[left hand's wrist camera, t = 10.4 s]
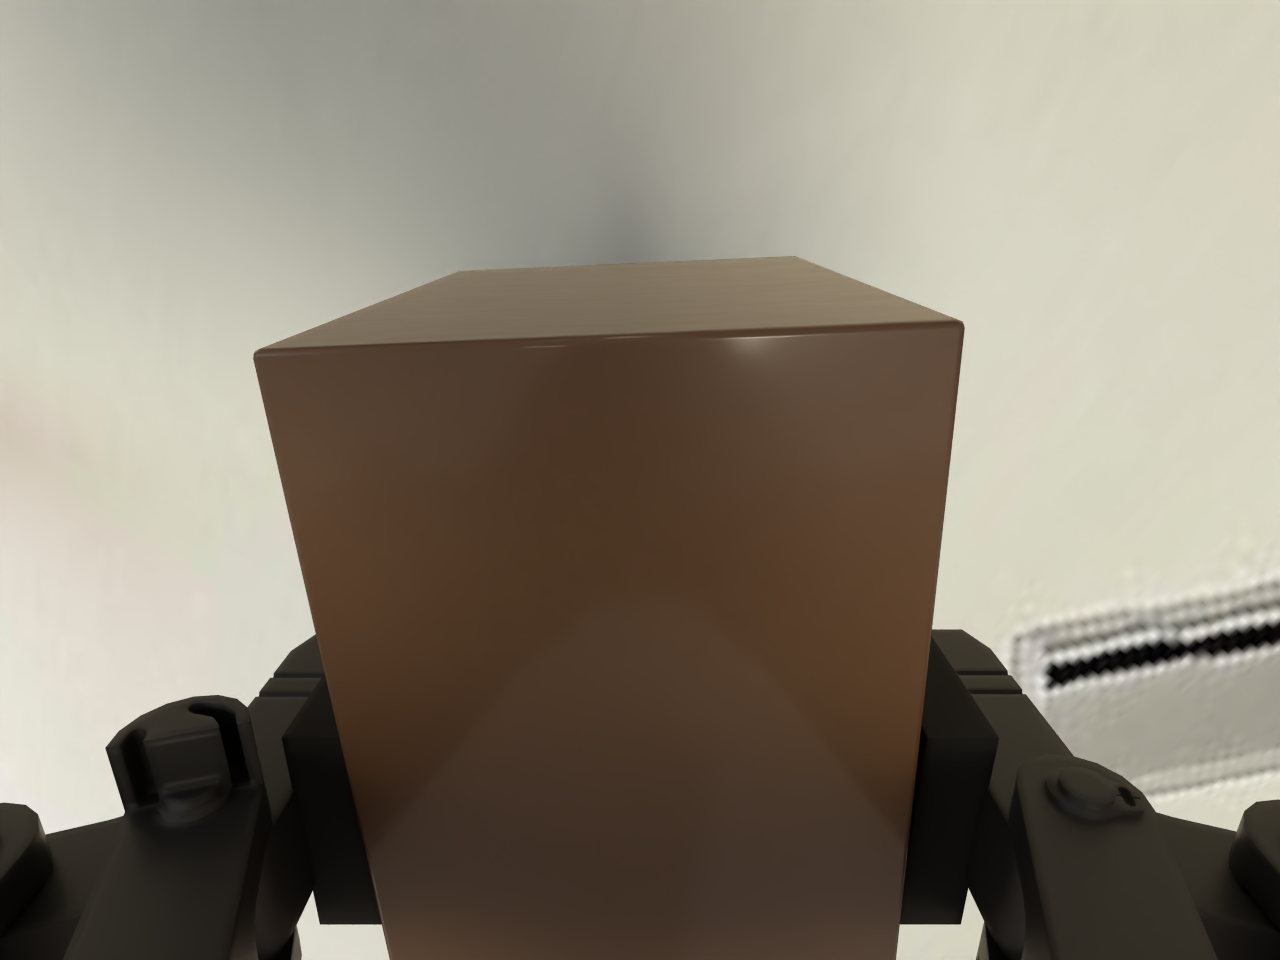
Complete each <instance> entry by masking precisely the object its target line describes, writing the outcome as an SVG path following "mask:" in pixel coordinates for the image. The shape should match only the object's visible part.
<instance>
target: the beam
mask: <svg viewBox="0 0 1280 960" xmlns="http://www.w3.org/2000/svg"><path fill="white" fill-rule="evenodd" d="M964 329H965V328H964V324H963V322H962V321H960V320H957V319H955V318H952V317H949V316H947V315H944V314H942V313H939V312H937V311H934V310H931V309H929V308H926V307H924V306H921V305H919V304H916V303H913V302H911V301H908V300H906V299H903V298H901V297H898V296H896V295H893V294H890V293H888V292H885V291H883V290H880V289H878V288H875V287H872V286H870V285H867V284H865V283H862V282H860V281H857V280H854V279H852V278H849V277H847V276H844V275H842V274H839V273H836V272H834V271H831V270H829V269H826V268H824V267H821V266H819V265H816V264H813V263H811V262H808V261H806V260H803V259H801V258H798V257H795V256H789V257H767V258H744V259H722V260H699V261H676V262H654V263H631V264H609V265H586V266H563V267H541V268H518V269H496V270H473V271H459V272H456V273H454V274H451V275H449V276H446V277H443V278H441V279H438V280H436V281H433V282H431V283H428V284H425V285H423V286H420V287H418V288H415V289H413V290H410V291H407V292H405V293H402V294H400V295H397V296H395V297H392V298H389V299H387V300H384V301H382V302H379V303H377V304H374V305H371V306H369V307H366V308H364V309H361V310H359V311H356V312H353V313H351V314H348V315H346V316H343V317H341V318H338V319H335V320H333V321H330V322H328V323H325V324H323V325H320V326H317V327H315V328H312V329H310V330H307V331H305V332H302V333H299V334H297V335H294V336H292V337H289V338H287V339H284V340H281V341H279V342H276V343H274V344H271V345H269V346H266V347H263V348H261V349H259V350H257V351H255V353H254V358H253V359H254V363H255V368H256V372H257V377H258V381H259V385H260V390H261V394H262V399H263V403H264V407H265V412H266V416H267V421H268V425H269V429H270V434H271V438H272V443H273V447H274V451H275V456H276V460H277V465H278V469H279V474H280V478H281V482H282V487H283V491H284V496H285V500H286V504H287V509H288V513H289V518H290V522H291V526H292V531H293V535H294V540H295V544H296V548H297V553H298V557H299V562H300V566H301V570H302V575H303V579H304V584H305V588H306V592H307V597H308V601H309V606H310V610H311V614H312V619H313V623H314V628H315V632H316V636H317V641H318V645H319V650H320V654H321V658H322V663H323V667H324V672H325V676H326V680H327V685H328V689H329V694H330V698H331V702H332V707H333V711H334V716H335V720H336V724H337V729H338V733H339V738H340V742H341V746H342V751H343V755H344V760H345V764H346V768H347V773H348V777H349V782H350V786H351V790H352V795H353V799H354V804H355V808H356V812H357V817H358V821H359V826H360V830H361V834H362V839H363V843H364V848H365V852H366V856H367V861H368V865H369V870H370V874H371V878H372V883H373V887H374V892H375V896H376V900H377V905H378V909H379V914H380V918H381V922H382V927H383V931H384V936H385V940H386V944H387V949H388V953H389V958H390V960H896V953H897V943H898V934H899V925H900V916H901V907H902V898H903V888H904V879H905V870H906V861H907V852H908V843H909V833H910V824H911V815H912V806H913V797H914V787H915V778H916V769H917V760H918V751H919V742H920V732H921V723H922V714H923V705H924V696H925V687H926V677H927V668H928V659H929V650H930V641H931V632H932V622H933V613H934V604H935V595H936V586H937V576H938V567H939V558H940V549H941V540H942V531H943V521H944V512H945V503H946V494H947V485H948V476H949V466H950V457H951V448H952V439H953V430H954V421H955V411H956V402H957V393H958V384H959V375H960V365H961V356H962V347H963V338H964Z"/></svg>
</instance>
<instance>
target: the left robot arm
mask: <svg viewBox="0 0 1280 960" xmlns="http://www.w3.org/2000/svg"><path fill="white" fill-rule="evenodd" d="M106 751H107V755H108V758H109V761H110V764H111V768H112V771H113V774H114V777H115V780H116V784H117V787H118V790H119V793H120V797H121V800H122V803H123V806H124V809H125V814H124V816H121V817H118V818H115V819H111V820H108V821H103V822H99V823H94V824H90V825H86V826H81V827H77V828H73V829H68V830H64V831H59V832H55V833H51V834H46V835H45V833H44V830H43V827H42V825H41V822H40V819H39V816H38V814H37V813H36V812H34V811H33V810H32V809H30V808H29V807H28V806H26V805H21V804H12V803H0V960H301V957H302V954H301V947H300V939H299V934H298V930H297V923H298V921H299V918H300V916H301V914H302V912H303V910H304V908H305V906H306V904H307V902H308V899H309V897H310V895H311V893H312V891H313V893H314V898H315V902H316V907H317V912H318V917H319V922H320V924H382V922H381V918H380V914H379V909H378V905H377V900H376V896H375V892H374V887H373V883H372V878H371V874H370V870H369V865H368V861H367V856H366V852H365V848H364V843H363V839H362V834H361V830H360V826H359V821H358V817H357V812H356V808H355V804H354V799H353V795H352V790H351V786H350V782H349V777H348V773H347V768H346V764H345V760H344V755H343V751H342V746H341V742H340V738H339V733H338V729H337V724H336V720H335V716H334V711H333V707H332V702H331V698H330V694H329V689H328V685H327V680H326V676H325V672H324V667H323V663H322V658H321V654H320V650H319V645H318V641H317V636H316V635H314V636H313V637H311V638H310V639H308V640H307V641H305V642H304V643H302V644H301V645H299V646H298V647H296V648H295V649H293V650H292V651H291V652H290V653H289V654H288V656H287V657H286V658H285V660H284V661H283V662H282V663H281V665H280V666H279V667H278V669H277V670H276V671H275V673H274V677H273V678H270V679H269V680H268V682H267V683H266V684H265V685H264V687H263V688H262V689H261V691H260V692H259V697H255V698H254V700H253V701H252V702H251V704H250V705H249V706H248V707H246V706H245V705H244V704H243V703H241V702H240V701H239V700H238V699H235V698H230V697H225V696H220V695H212V696H197V697H191V698H187V699H183V700H179V701H176V702H172V703H168V704H165V705H163V706H161V707H159V708H157V709H154V710H152V711H150V712H148V713H146V714H143V715H141V716H140V717H138V718H137V719H135V720H134V721H133V722H131V723H130V724H128V725H127V726H126V727H124V728H123V729H121V730H120V731H119V732H118V733H117V734H116V736H115V737H114V738H113V739H112V740H111V742H110V743H109V744H108V745H107V747H106ZM968 888H969V890H970V892H971V894H972V896H973V898H974V900H975V902H976V905H977V907H978V909H979V911H980V913H981V915H982V917H983V919H984V925H983V930H982V934H981V939H980V943H979V948H978V952H977V957H976V960H1280V800H1270V801H1260V802H1256V803H1254V804H1253V805H1252V806H1250V807H1249V808H1248V809H1246V810H1245V811H1244V814H1243V816H1242V819H1241V822H1240V825H1239V827H1238V830H1237V832H1235V831H1231V830H1227V829H1222V828H1218V827H1213V826H1209V825H1205V824H1200V823H1196V822H1191V821H1187V820H1183V819H1178V818H1174V817H1170V816H1167V815H1163V814H1160V813H1157V812H1155V810H1154V809H1153V807H1152V806H1151V804H1150V803H1149V802H1148V800H1147V799H1146V797H1145V796H1144V794H1143V793H1142V792H1141V791H1140V790H1138V789H1137V788H1136V787H1135V786H1133V785H1132V784H1131V783H1130V782H1129V781H1127V780H1126V779H1125V778H1124V777H1122V776H1121V775H1119V774H1117V773H1115V772H1113V771H1111V770H1109V769H1107V768H1105V767H1103V766H1101V765H1099V764H1097V763H1094V762H1091V761H1087V760H1084V759H1081V758H1077V757H1074V756H1073V754H1072V753H1071V752H1070V751H1069V749H1068V748H1067V747H1066V745H1065V744H1064V743H1063V742H1062V740H1061V739H1060V738H1059V736H1058V735H1057V734H1056V733H1055V731H1054V730H1053V729H1052V727H1051V726H1050V725H1049V724H1048V722H1047V721H1046V720H1045V718H1044V717H1043V716H1042V715H1041V713H1040V712H1039V711H1038V709H1037V708H1036V707H1035V706H1034V704H1033V703H1032V702H1031V700H1030V699H1029V698H1028V697H1027V695H1026V694H1022V689H1021V688H1020V686H1019V685H1018V684H1017V682H1016V681H1015V680H1014V679H1013V677H1012V676H1011V675H1008V671H1007V670H1006V668H1005V667H1004V666H1003V664H1002V663H1001V662H1000V661H999V659H998V658H997V657H996V655H995V654H994V653H993V652H992V650H991V649H990V648H988V647H987V646H985V645H984V644H982V643H981V642H980V641H978V640H977V639H975V638H974V637H972V636H971V635H969V634H968V633H966V632H965V631H963V630H932V632H931V641H930V650H929V659H928V668H927V677H926V687H925V696H924V705H923V714H922V723H921V732H920V742H919V751H918V760H917V769H916V778H915V787H914V797H913V806H912V815H911V824H910V833H909V843H908V852H907V861H906V870H905V879H904V888H903V898H902V907H901V916H900V924H961V920H962V916H963V911H964V906H965V901H966V896H967V891H968Z"/></svg>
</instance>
